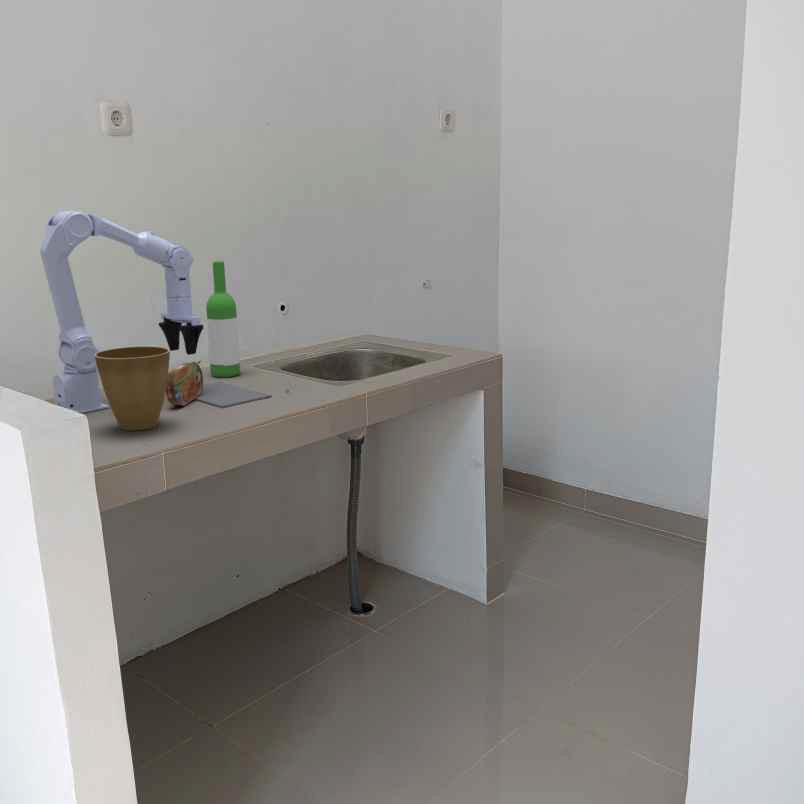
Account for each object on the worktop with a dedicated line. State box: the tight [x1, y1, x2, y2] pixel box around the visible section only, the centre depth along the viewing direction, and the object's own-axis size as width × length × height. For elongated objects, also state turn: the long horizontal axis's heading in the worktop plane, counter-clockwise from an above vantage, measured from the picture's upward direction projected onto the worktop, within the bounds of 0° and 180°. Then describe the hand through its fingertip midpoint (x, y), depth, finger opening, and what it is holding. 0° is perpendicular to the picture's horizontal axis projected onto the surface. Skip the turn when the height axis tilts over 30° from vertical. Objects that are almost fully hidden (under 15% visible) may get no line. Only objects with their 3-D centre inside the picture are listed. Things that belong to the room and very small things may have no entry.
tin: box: [165, 361, 204, 407], centre depth 200 cm, size 15×3×8 cm, turn 168°
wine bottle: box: [205, 260, 241, 378], centre depth 226 cm, size 8×8×30 cm
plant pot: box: [94, 345, 171, 432], centre depth 180 cm, size 15×15×16 cm
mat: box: [193, 381, 273, 409], centre depth 208 cm, size 14×22×1 cm, turn 45°
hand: (182, 352), depth 210 cm, fingers open, 7 cm apart
